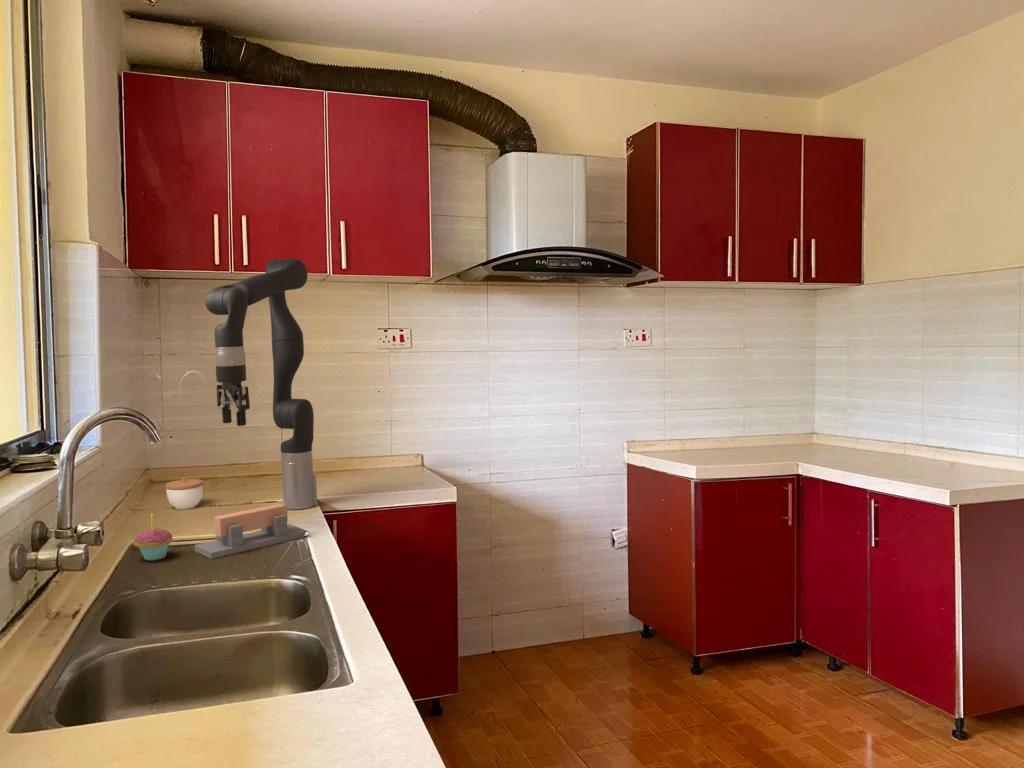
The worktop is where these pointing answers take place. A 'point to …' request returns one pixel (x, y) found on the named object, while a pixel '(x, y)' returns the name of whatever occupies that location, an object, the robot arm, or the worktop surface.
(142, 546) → the cupcake
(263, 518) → the clay strip
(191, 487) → the lidded jar
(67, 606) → the worktop surface
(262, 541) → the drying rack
